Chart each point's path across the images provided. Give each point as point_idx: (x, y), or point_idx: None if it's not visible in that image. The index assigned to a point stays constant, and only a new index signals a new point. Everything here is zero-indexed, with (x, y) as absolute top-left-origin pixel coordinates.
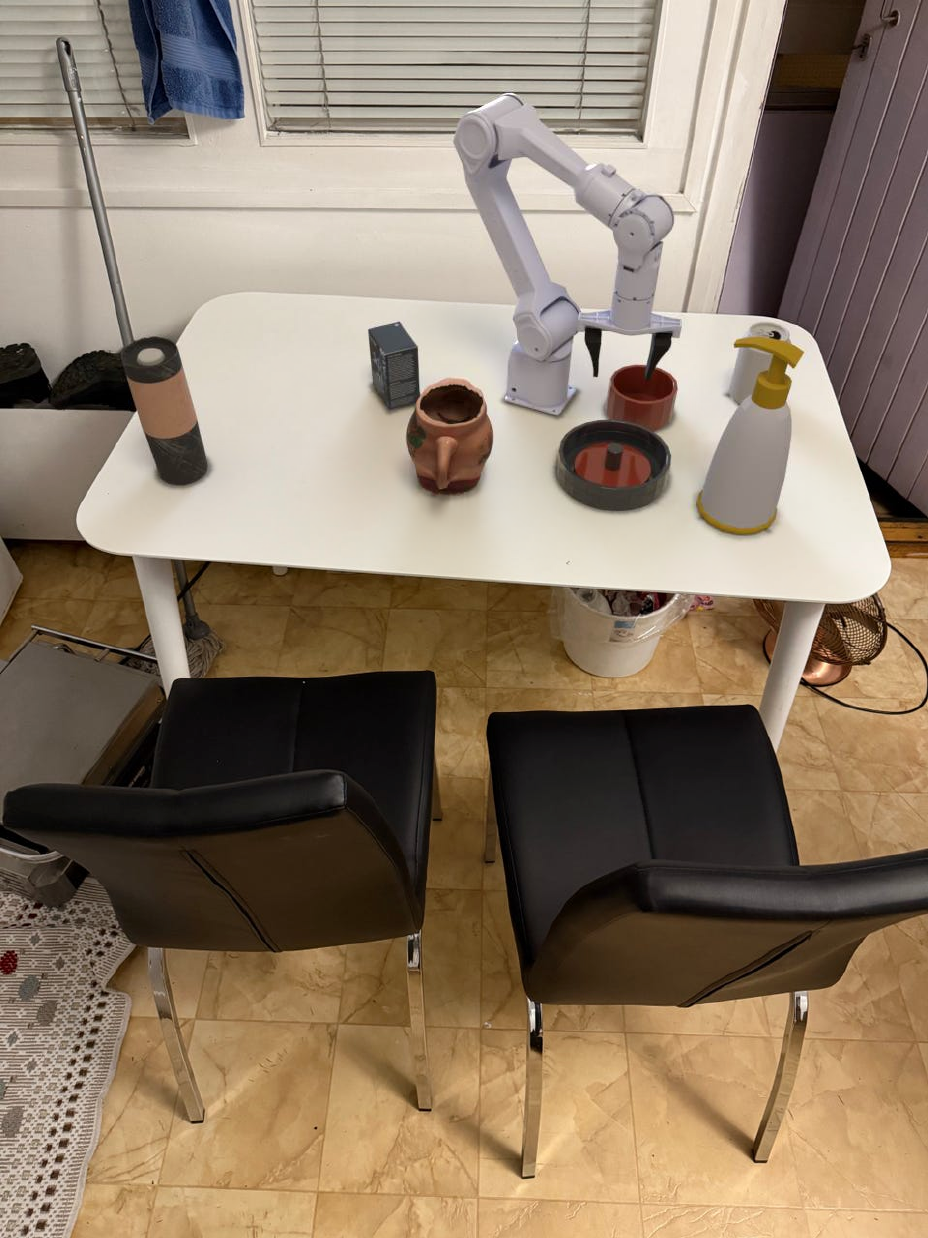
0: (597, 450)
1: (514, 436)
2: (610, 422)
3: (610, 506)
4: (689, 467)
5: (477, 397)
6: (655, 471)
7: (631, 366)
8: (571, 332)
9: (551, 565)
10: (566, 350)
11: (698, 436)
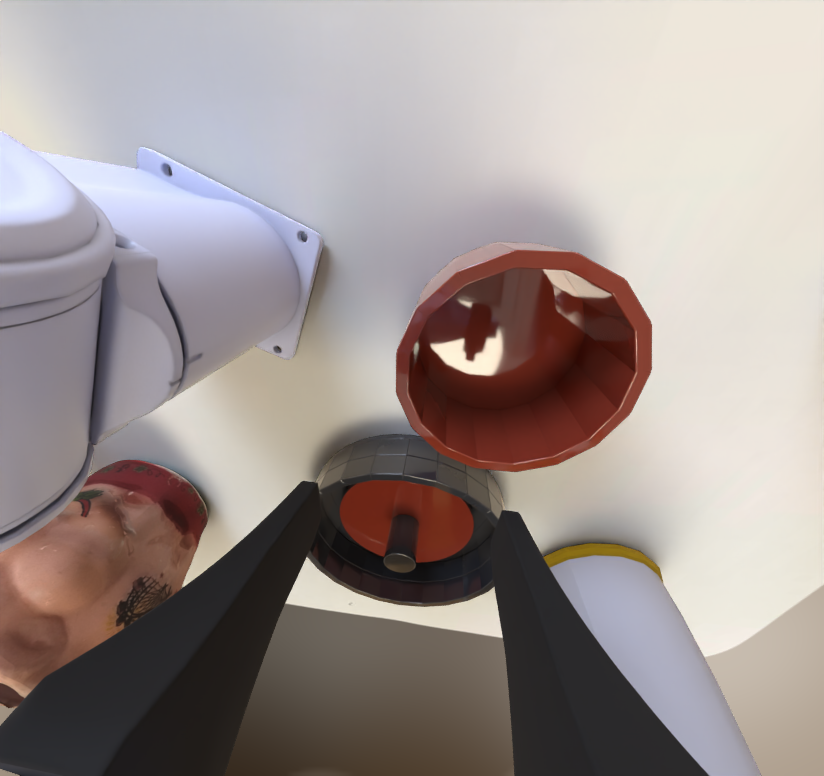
0: (379, 491)
1: (223, 415)
2: (398, 479)
3: None
4: (553, 502)
5: (36, 569)
6: (483, 516)
7: (494, 269)
8: (51, 388)
9: (333, 604)
10: (150, 366)
11: (617, 428)
